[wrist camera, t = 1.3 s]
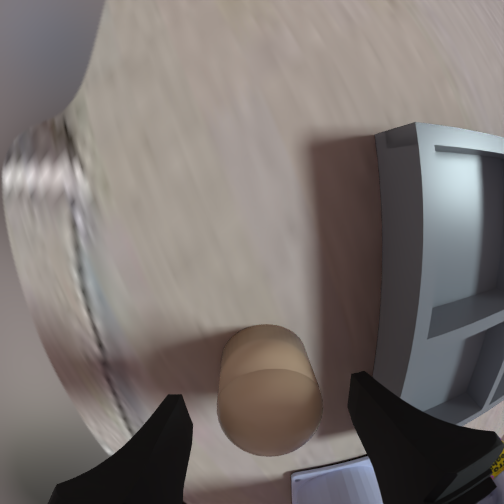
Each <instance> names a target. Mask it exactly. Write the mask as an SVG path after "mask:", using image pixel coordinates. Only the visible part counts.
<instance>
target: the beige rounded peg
mask: <svg viewBox="0 0 504 504" xmlns="http://www.w3.org/2000/svg"><path fill="white" fill-rule="evenodd" d="M322 413H323V399H322V395H321V391H320V389H319V386H318V383H317V380H316V377H315V374H314V372H313V369H312V366H311V363H310V361H309V358H308V355H307V352H306V349H305V347H304V345H303V342H302V341H301V339H300V338H299V337H298V336H297V335H296V334H295V333H293V332H292V331H290V330H288V329H286V328H284V327H281V326H277V325H268V324H265V325H256V326H252V327H248V328H246V329H244V330H242V331H240V332H238V333H237V334H235V335H234V336H233V337H232V338H231V339H230V340H229V341H228V343H227V344H226V346H225V347H224V350H223V353H222V360H221V370H220V379H219V389H218V399H217V415H218V420H219V423H220V426H221V428H222V430H223V432H224V433H225V435H226V436H227V438H228V439H229V440H230V441H231V442H232V443H233V444H234V445H236V446H237V447H238V448H240V449H242V450H243V451H246V452H248V453H251V454H254V455H258V456H266V457H272V456H280V455H284V454H288V453H290V452H293V451H295V450H297V449H298V448H300V447H301V446H303V445H304V444H305V443H306V442H308V441H309V439H310V438H311V437H312V436H313V435H314V433H315V432H316V430H317V428H318V427H319V424H320V421H321V418H322Z"/></svg>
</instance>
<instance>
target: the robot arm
mask: <svg viewBox="0 0 504 504" xmlns="http://www.w3.org/2000/svg"><path fill="white" fill-rule="evenodd" d="M348 409H349V412H350V416H351V419H352V422H353V425H354V427H355V429H356V431H357V434H358V436H359V438H360V440H361V442H362V444H363V446H364V449H365V451H366V453H367V455H368V456H366V457H363V458H359V459H355V460H352V461H348V462H344V463H340V464H336V465H331V466H327V467H322V468H317V469H312V470H307V471H301V472H295V473H293V474H292V475H291V488H292V504H504V471H502V472H501V473H500V474H499V475H497V476H496V477H495V478H494V479H493V480H492V478H491V477H490V476H491V475H492V474H493V472H492V470H491V469H490V467H491V466H492V464H493V463H494V462H495V461H496V460H497V458H498V457H499V456H500V454H501V453H502V451H503V450H504V443H503V441H502V440H501V439H500V438H499V436H498V435H497V434H496V433H495V432H494V431H485V430H477V429H471V428H467V427H462V426H459V425H455V424H452V423H449V422H446V421H443V420H440V419H438V418H435V417H433V416H431V415H429V414H427V413H425V412H423V411H421V410H419V409H417V408H415V407H414V406H412V405H410V404H409V403H407V402H405V401H404V400H402V399H401V398H399V397H398V396H397V395H395V394H394V393H392V392H391V391H390V390H388V389H387V388H386V387H384V386H383V385H382V384H380V383H379V382H378V381H377V380H375V379H374V378H373V377H372V376H370V375H369V374H368V373H367V372H365V371H362V372H358V373H354V374H351V382H350V391H349V399H348ZM192 435H193V423H192V421H191V418H190V416H189V413H188V410H187V408H186V405H185V402H184V400H183V397H182V394H168V395H167V397H166V398H165V399H164V400H163V402H162V403H161V404H160V405H159V407H158V408H157V409H156V411H155V412H154V413H153V414H152V416H151V417H150V418H149V419H148V420H147V422H146V423H145V424H144V425H143V426H142V428H141V429H140V430H139V431H138V432H137V433H136V434H135V435H134V436H133V437H132V438H131V439H130V440H129V441H128V442H127V443H126V444H125V445H124V446H123V447H122V448H121V449H119V450H118V451H117V452H116V453H115V454H113V455H112V456H111V457H109V458H108V459H106V460H105V461H104V462H102V463H101V464H99V465H98V466H96V467H95V468H93V469H91V470H89V471H87V472H85V473H83V474H81V475H79V476H77V477H76V478H73V479H70V480H68V481H65V482H62V483H60V484H57V485H56V487H55V489H54V491H53V493H52V495H51V498H50V500H49V502H48V504H182V503H183V488H184V482H185V477H186V472H187V467H188V462H189V457H190V451H191V446H192Z"/></svg>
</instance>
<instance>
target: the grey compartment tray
mask: <svg viewBox="0 0 504 504" xmlns="http://www.w3.org/2000/svg"><path fill="white" fill-rule="evenodd" d="M375 141H376V148H377V157H378V167H379V178H380V191H381V209H382V288H381V305H380V319H379V330H378V339H377V348H376V356H375V364H374V370H373V378H374V379H375V380H377V381H378V382H379V383H380V384H382V385H383V386H384V387H386V388H387V389H388V390H390V391H391V392H392V393H394V394H395V395H397V396H398V397H399V398H401V399H402V400H404V401H405V402H407V403H409V404H410V405H412V406H414V407H415V408H417V409H419V410H421V411H423V412H425V413H427V414H429V415H431V416H433V417H435V418H438V419H440V420H443V421H446V422H449V423H452V424H455V425H459V426H463V425H465V424H467V423H468V422H470V421H472V420H474V419H475V418H477V417H479V416H480V415H482V414H483V413H485V412H487V411H488V410H490V409H491V408H493V407H494V406H496V405H497V404H499V403H500V402H502V401H503V400H504V138H503V137H499V136H495V135H491V134H486V133H482V132H477V131H472V130H467V129H461V128H455V127H449V126H442V125H435V124H427V123H419V122H414V123H411V124H407V125H404V126H401V127H397V128H394V129H391V130H388V131H384V132H381V133H378V134H375Z"/></svg>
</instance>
